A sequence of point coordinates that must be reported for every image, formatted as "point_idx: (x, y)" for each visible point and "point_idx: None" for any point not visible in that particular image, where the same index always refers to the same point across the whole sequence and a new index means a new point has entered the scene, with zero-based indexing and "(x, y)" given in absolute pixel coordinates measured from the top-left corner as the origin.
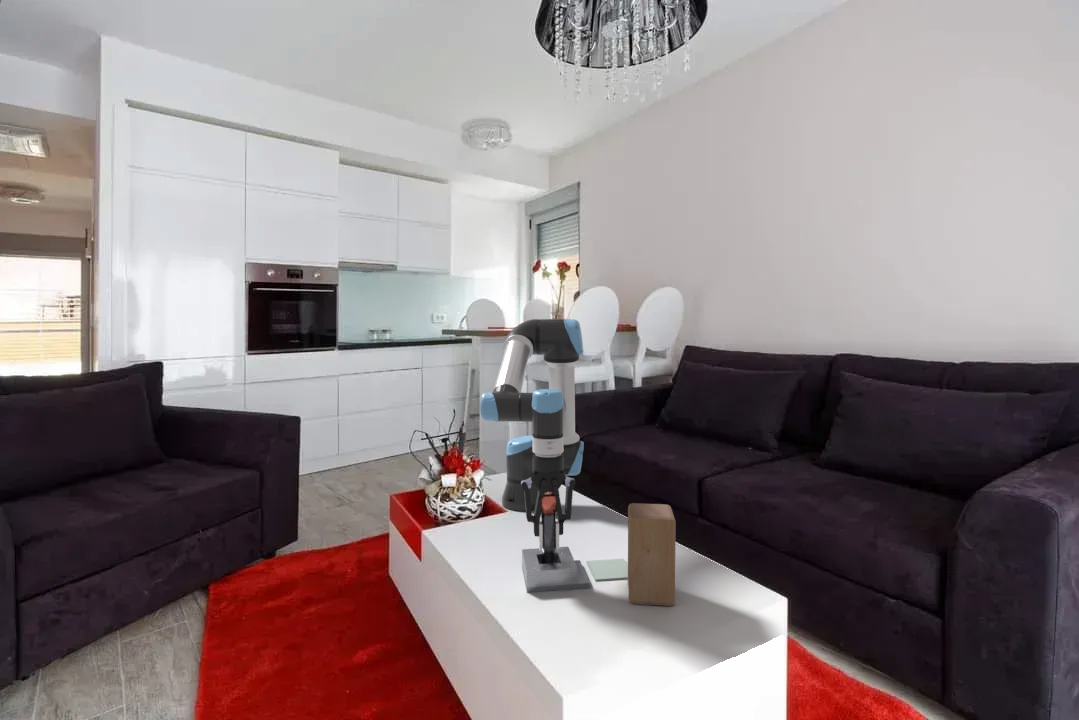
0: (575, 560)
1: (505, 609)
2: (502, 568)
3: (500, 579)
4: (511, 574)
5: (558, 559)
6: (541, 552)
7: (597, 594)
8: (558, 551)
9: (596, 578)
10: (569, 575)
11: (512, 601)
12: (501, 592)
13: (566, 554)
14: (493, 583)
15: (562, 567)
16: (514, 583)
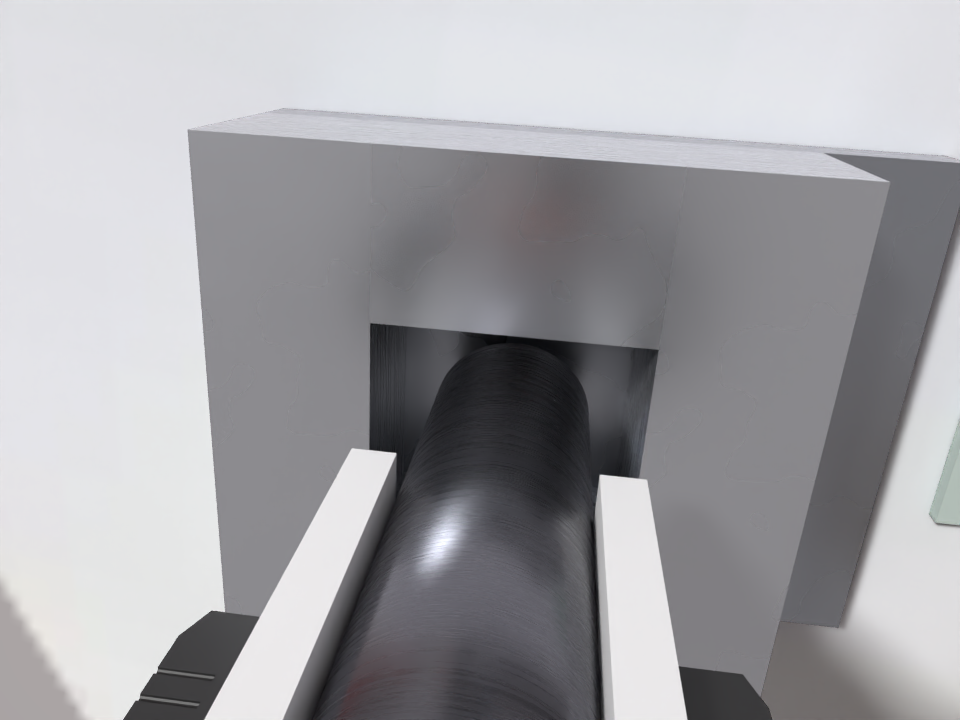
0: (915, 159)
1: (144, 683)
2: (78, 59)
3: (77, 286)
4: (174, 214)
5: (645, 380)
6: (444, 290)
7: (837, 686)
8: (682, 313)
9: (955, 510)
10: None
11: (188, 614)
12: (103, 488)
13: (758, 419)
14: (24, 341)
15: None
16: (202, 382)
